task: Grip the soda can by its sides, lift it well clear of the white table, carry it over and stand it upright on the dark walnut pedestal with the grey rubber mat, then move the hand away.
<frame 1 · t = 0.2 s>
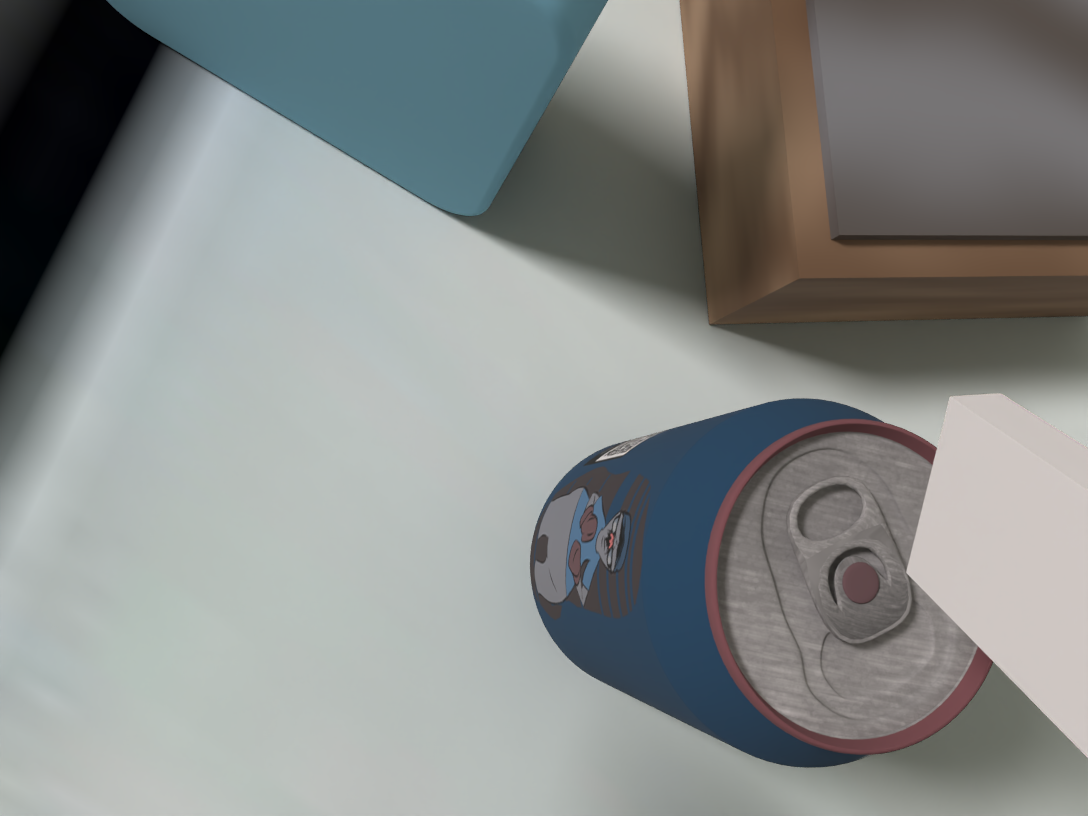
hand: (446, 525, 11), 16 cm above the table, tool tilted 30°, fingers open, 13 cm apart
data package: (330, 64, 28), on the table
pedestal: (884, 113, 32), on the table
soda can: (632, 561, 28), on the table
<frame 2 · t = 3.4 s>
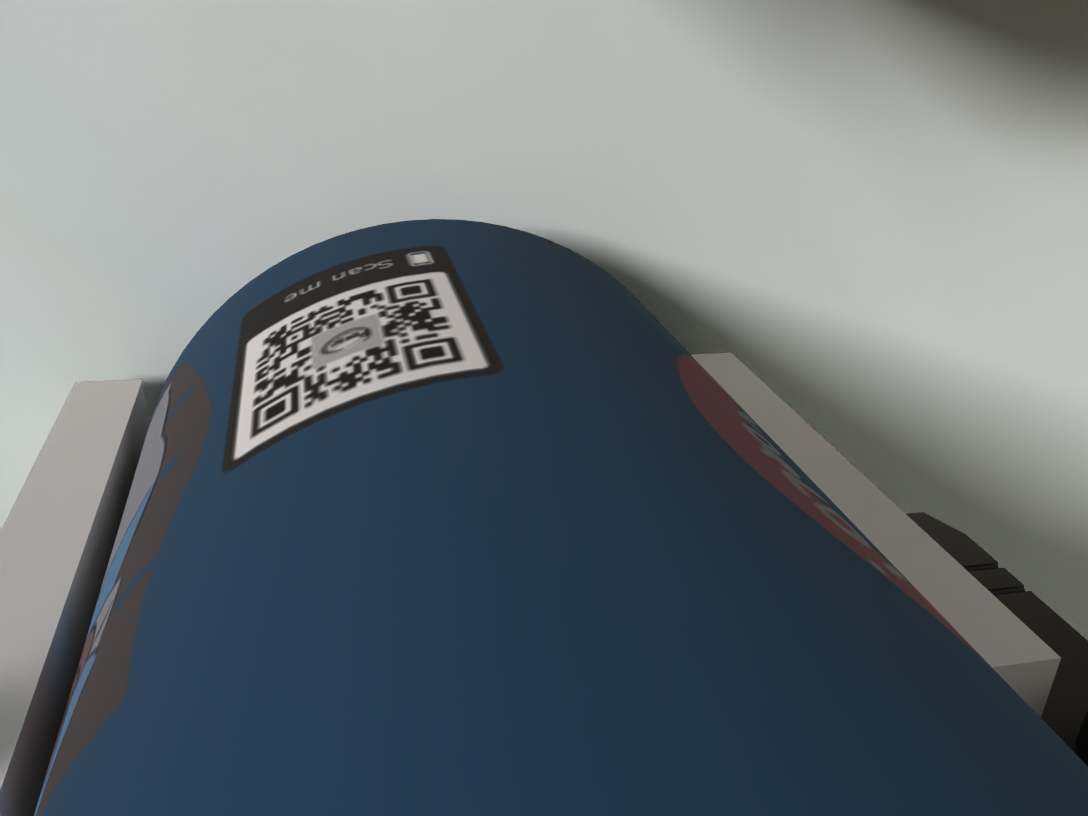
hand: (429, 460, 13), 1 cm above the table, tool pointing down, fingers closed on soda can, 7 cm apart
soda can: (421, 434, 14), on the table, touching gripper
when the fingers open (8 cm above the table, at t = 8.7 s): soda can drops 1 cm, resting on pedestal.
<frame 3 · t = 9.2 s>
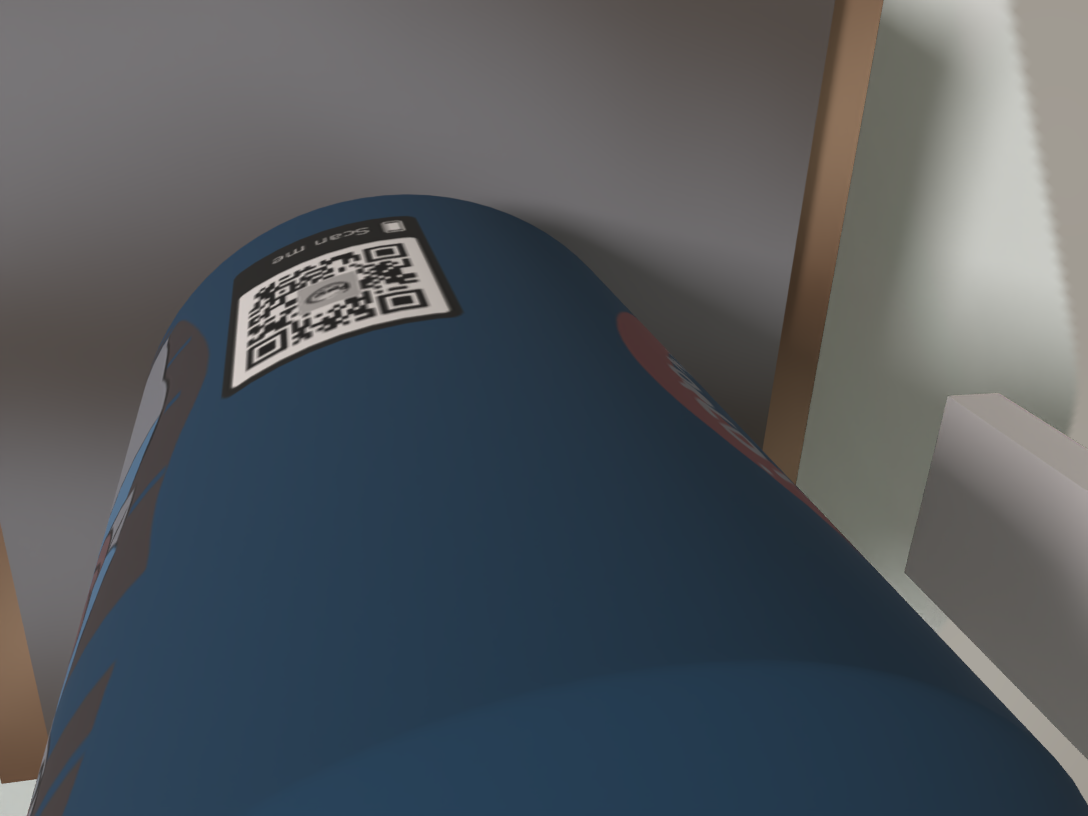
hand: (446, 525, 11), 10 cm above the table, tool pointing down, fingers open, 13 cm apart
pedestal: (381, 278, 20), on the table
soda can: (395, 396, 15), point 6 cm above the table, touching pedestal
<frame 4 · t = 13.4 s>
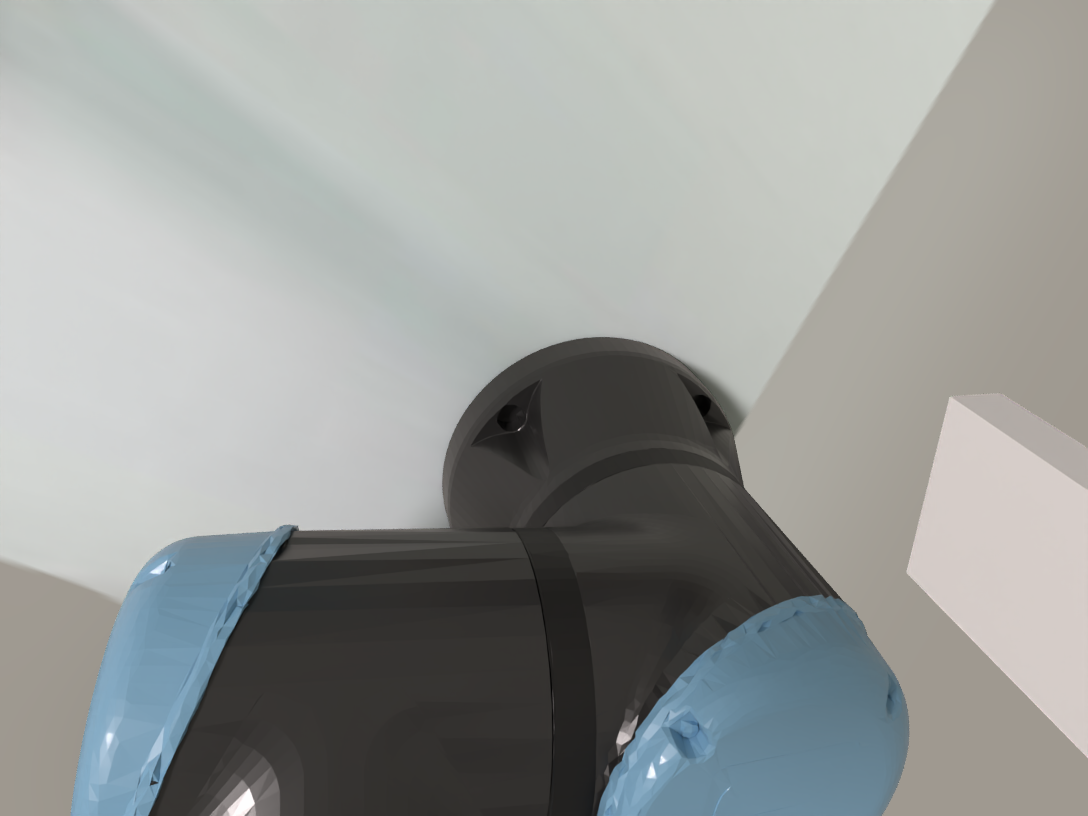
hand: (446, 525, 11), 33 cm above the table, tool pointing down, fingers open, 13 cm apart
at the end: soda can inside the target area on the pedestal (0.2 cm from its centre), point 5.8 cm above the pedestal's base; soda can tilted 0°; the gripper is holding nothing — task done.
